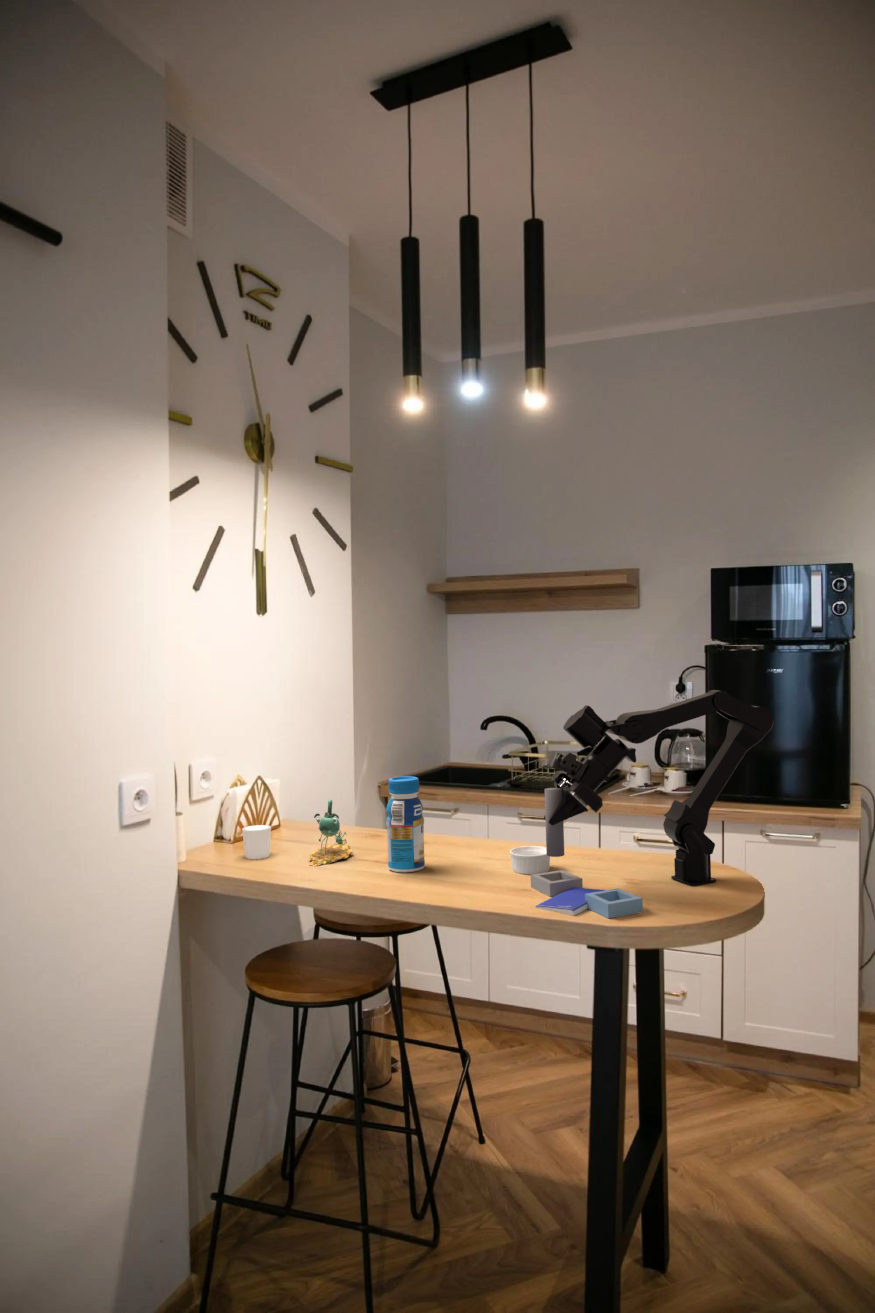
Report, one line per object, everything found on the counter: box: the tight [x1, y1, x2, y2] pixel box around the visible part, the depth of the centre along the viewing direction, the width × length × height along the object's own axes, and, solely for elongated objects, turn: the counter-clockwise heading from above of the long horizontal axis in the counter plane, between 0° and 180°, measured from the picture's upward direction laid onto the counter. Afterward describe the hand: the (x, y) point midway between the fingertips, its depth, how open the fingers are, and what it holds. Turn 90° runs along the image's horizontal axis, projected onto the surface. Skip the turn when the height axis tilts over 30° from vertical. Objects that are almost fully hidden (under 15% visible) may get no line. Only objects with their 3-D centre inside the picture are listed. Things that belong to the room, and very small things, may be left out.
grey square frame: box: [530, 869, 584, 897], centre depth 172 cm, size 7×7×2 cm
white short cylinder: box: [241, 824, 272, 860], centre depth 207 cm, size 7×7×7 cm
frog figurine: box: [308, 799, 353, 867], centre depth 204 cm, size 10×18×15 cm, turn 155°
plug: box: [544, 787, 565, 858], centre depth 171 cm, size 4×4×13 cm
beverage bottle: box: [385, 775, 426, 873], centre depth 191 cm, size 8×8×20 cm
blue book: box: [535, 887, 606, 917], centre depth 162 cm, size 2×8×12 cm
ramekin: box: [509, 845, 551, 876], centre depth 187 cm, size 9×9×4 cm
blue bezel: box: [585, 888, 644, 919], centre depth 157 cm, size 7×7×2 cm
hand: (547, 821), depth 171 cm, fingers closed on plug, 3 cm apart
